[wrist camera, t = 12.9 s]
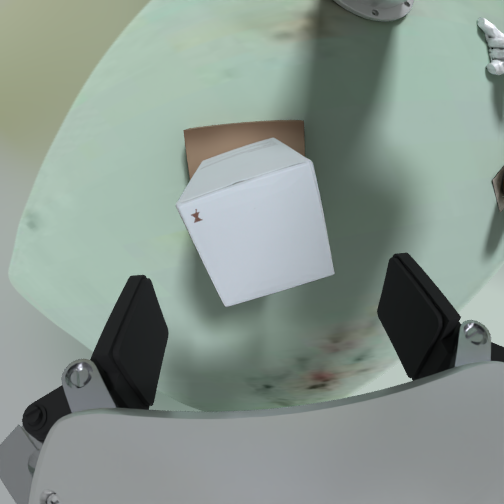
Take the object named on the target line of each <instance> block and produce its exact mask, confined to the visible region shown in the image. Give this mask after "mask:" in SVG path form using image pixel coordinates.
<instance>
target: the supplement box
mask: <svg viewBox="0 0 504 504" xmlns="http://www.w3.org/2000/svg"><path fill="white" fill-rule="evenodd" d="M176 208H177V210H178V212H179V214H180V216H181V218H182V220H183V222H184V224H185V226H186V228H187V230H188V233H189V235H190V237H191V239H192V241H193V243H194V245H195V247H196V249H197V251H198V253H199V255H200V257H201V259H202V261H203V263H204V265H205V268H206V270H207V272H208V274H209V276H210V278H211V280H212V282H213V284H214V286H215V288H216V290H217V292H218V294H219V296H220V298H221V300H222V302H223V304H224V306H226V307H228V306H232V305H235V304H239V303H242V302H246V301H249V300H253V299H256V298H259V297H263V296H266V295H270V294H273V293H276V292H280V291H283V290H286V289H289V288H293V287H296V286H299V285H302V284H306V283H309V282H312V281H315V280H318V279H321V278H324V277H328V276H331V275H334V274H335V272H334V268H333V262H332V257H331V251H330V245H329V240H328V234H327V228H326V223H325V218H324V212H323V207H322V202H321V197H320V193H319V188H318V183H317V179H316V175H315V170H314V166H313V162H312V161H311V160H309V159H307V158H306V157H304V156H303V155H301V154H299V153H298V152H296V151H295V150H293V149H292V148H290V147H289V146H287V145H285V144H284V143H282V142H281V141H279V140H277V139H275V138H270V139H266V140H262V141H259V142H255V143H252V144H249V145H246V146H243V147H240V148H237V149H234V150H231V151H228V152H225V153H222V154H220V155H217V156H214V157H211V158H209V159H206V160H203V161H202V163H201V164H200V166H199V167H198V169H197V170H196V172H195V173H194V175H193V177H192V178H191V180H190V181H189V183H188V185H187V186H186V188H185V190H184V191H183V193H182V195H181V196H180V198H179V200H178V201H177V203H176Z"/></svg>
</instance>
